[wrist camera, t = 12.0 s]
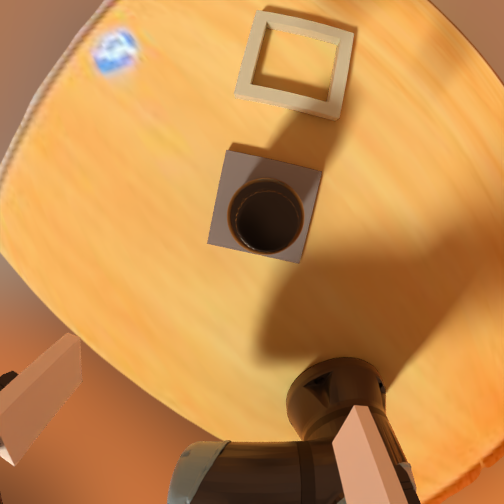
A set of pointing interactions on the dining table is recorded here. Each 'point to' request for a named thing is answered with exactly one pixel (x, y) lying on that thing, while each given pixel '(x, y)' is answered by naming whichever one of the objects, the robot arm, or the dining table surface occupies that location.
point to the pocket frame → (287, 99)
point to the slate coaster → (252, 167)
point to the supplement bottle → (265, 216)
